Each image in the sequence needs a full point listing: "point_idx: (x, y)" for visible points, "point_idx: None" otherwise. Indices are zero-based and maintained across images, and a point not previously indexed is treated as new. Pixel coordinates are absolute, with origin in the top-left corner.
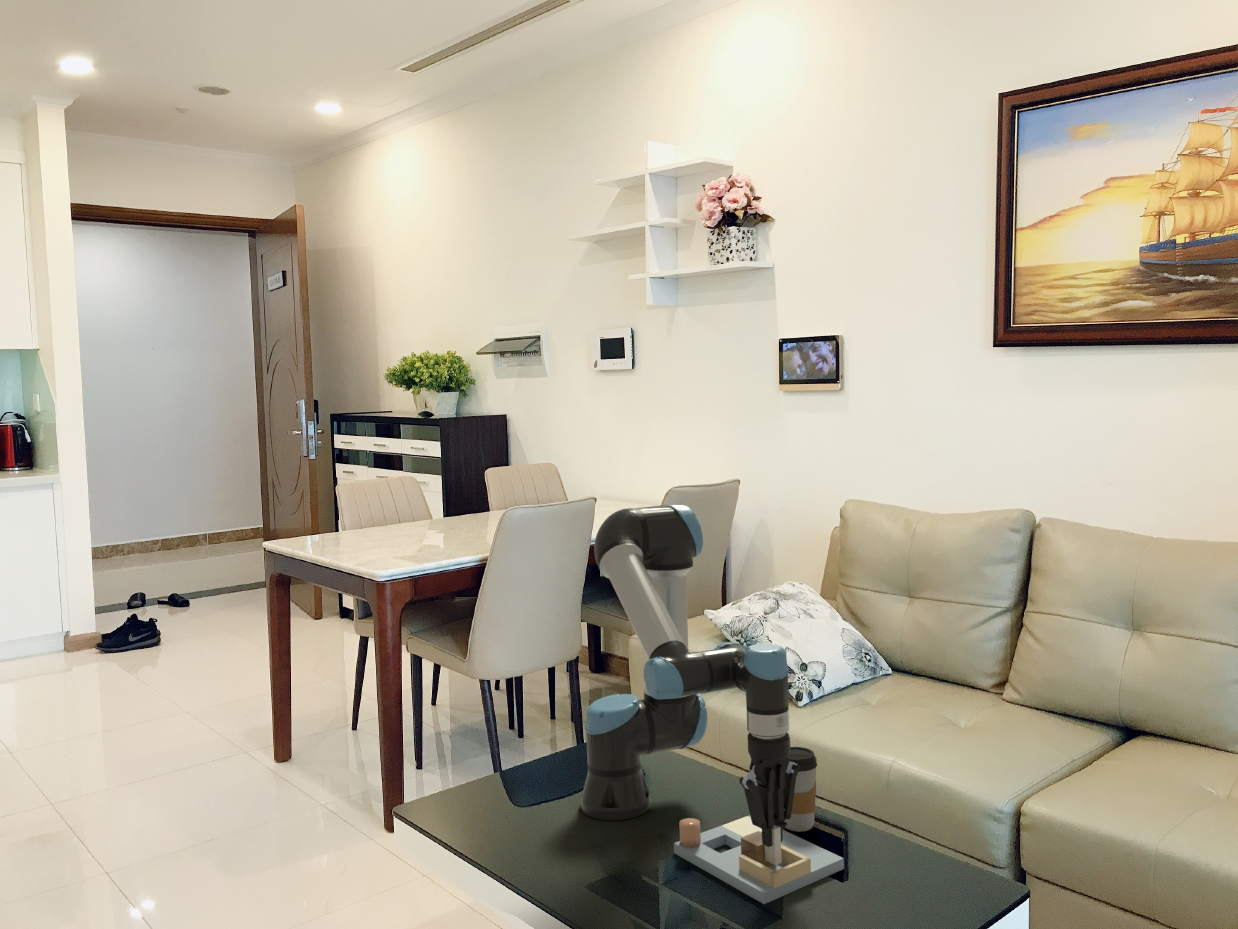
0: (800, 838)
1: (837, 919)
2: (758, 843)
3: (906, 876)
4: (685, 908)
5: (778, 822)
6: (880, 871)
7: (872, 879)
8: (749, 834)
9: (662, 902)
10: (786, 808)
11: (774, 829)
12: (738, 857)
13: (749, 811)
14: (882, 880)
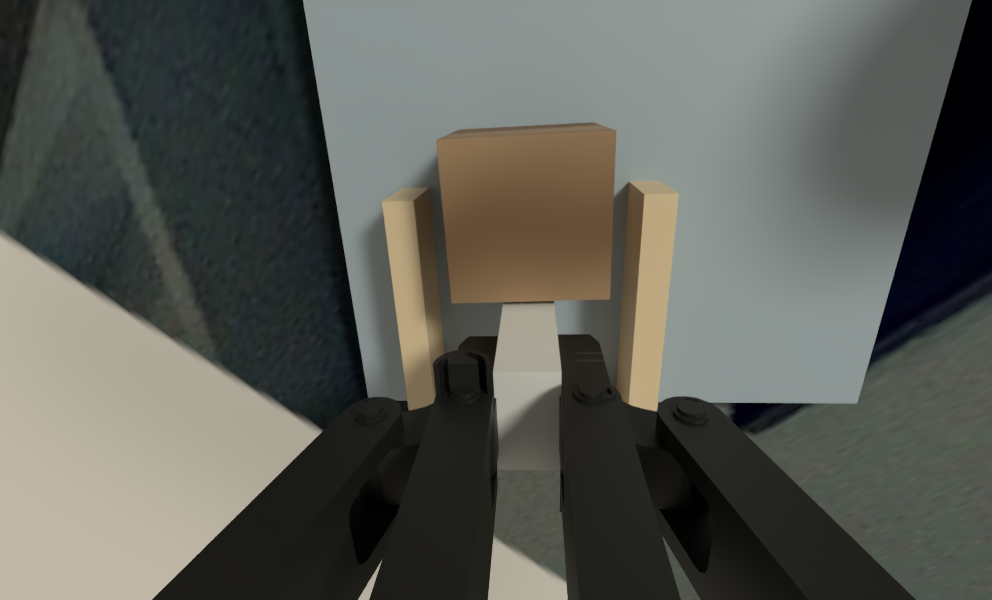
0: (936, 113)
1: (516, 552)
2: (479, 279)
3: (925, 532)
4: (104, 222)
5: (560, 483)
6: (904, 464)
7: (823, 481)
8: (521, 137)
9: (27, 122)
10: (684, 565)
11: (501, 469)
12: (479, 75)
13: (260, 495)
14: (840, 503)
